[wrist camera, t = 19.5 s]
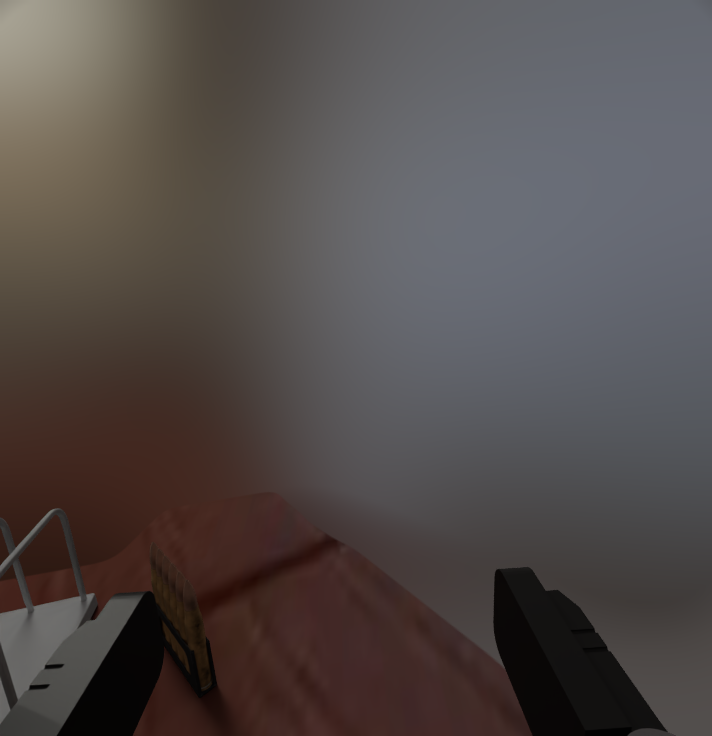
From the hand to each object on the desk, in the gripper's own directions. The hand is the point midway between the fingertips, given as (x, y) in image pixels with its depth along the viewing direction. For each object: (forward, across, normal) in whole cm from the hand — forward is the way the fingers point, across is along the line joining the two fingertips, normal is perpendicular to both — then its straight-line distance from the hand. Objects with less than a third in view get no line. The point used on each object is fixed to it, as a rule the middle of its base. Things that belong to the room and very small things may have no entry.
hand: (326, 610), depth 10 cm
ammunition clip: (+29, +18, +32) cm, 47 cm away
